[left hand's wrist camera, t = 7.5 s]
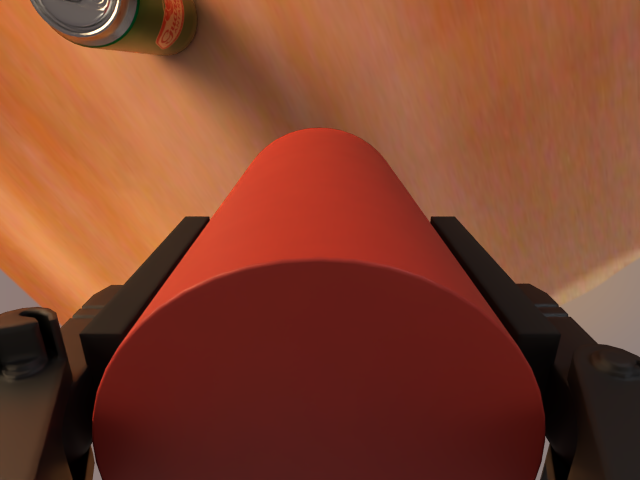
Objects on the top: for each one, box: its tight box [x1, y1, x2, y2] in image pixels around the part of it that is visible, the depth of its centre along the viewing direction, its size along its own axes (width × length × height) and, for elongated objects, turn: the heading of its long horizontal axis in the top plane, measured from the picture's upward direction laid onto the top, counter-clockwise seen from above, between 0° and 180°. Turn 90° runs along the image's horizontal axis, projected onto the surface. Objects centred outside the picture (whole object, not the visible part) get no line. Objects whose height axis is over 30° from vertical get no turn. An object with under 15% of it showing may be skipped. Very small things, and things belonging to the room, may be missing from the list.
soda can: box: [31, 0, 197, 56], centre depth 25 cm, size 5×5×12 cm
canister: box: [92, 128, 545, 480], centre depth 13 cm, size 7×7×13 cm
